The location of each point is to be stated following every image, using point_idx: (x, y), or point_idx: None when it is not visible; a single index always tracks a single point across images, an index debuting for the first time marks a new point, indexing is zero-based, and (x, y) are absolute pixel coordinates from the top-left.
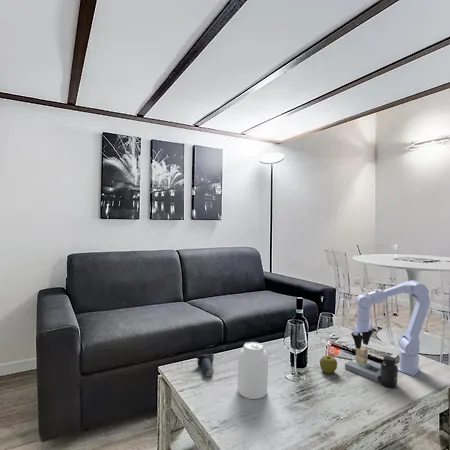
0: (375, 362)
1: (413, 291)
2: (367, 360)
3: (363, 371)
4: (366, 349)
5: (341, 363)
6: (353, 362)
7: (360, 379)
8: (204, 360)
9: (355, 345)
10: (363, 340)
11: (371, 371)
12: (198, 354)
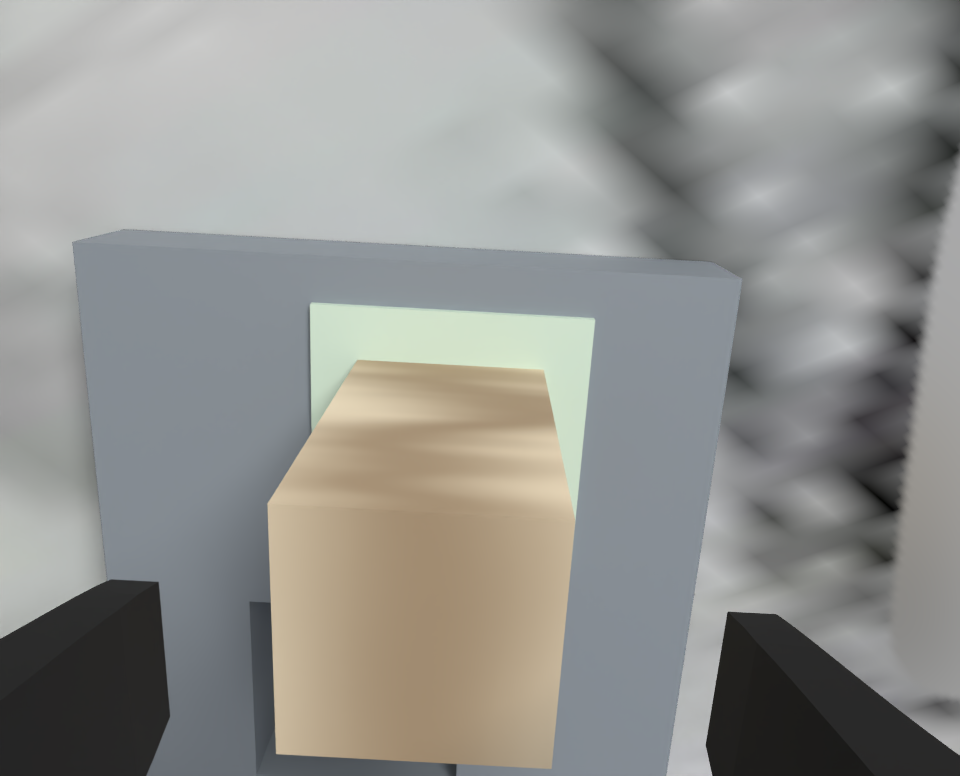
0: (671, 632)
1: None
2: (641, 496)
3: None
4: (461, 755)
5: (269, 59)
6: (291, 342)
7: (12, 589)
8: None
9: (54, 620)
10: (780, 706)
11: (228, 718)
12: None
